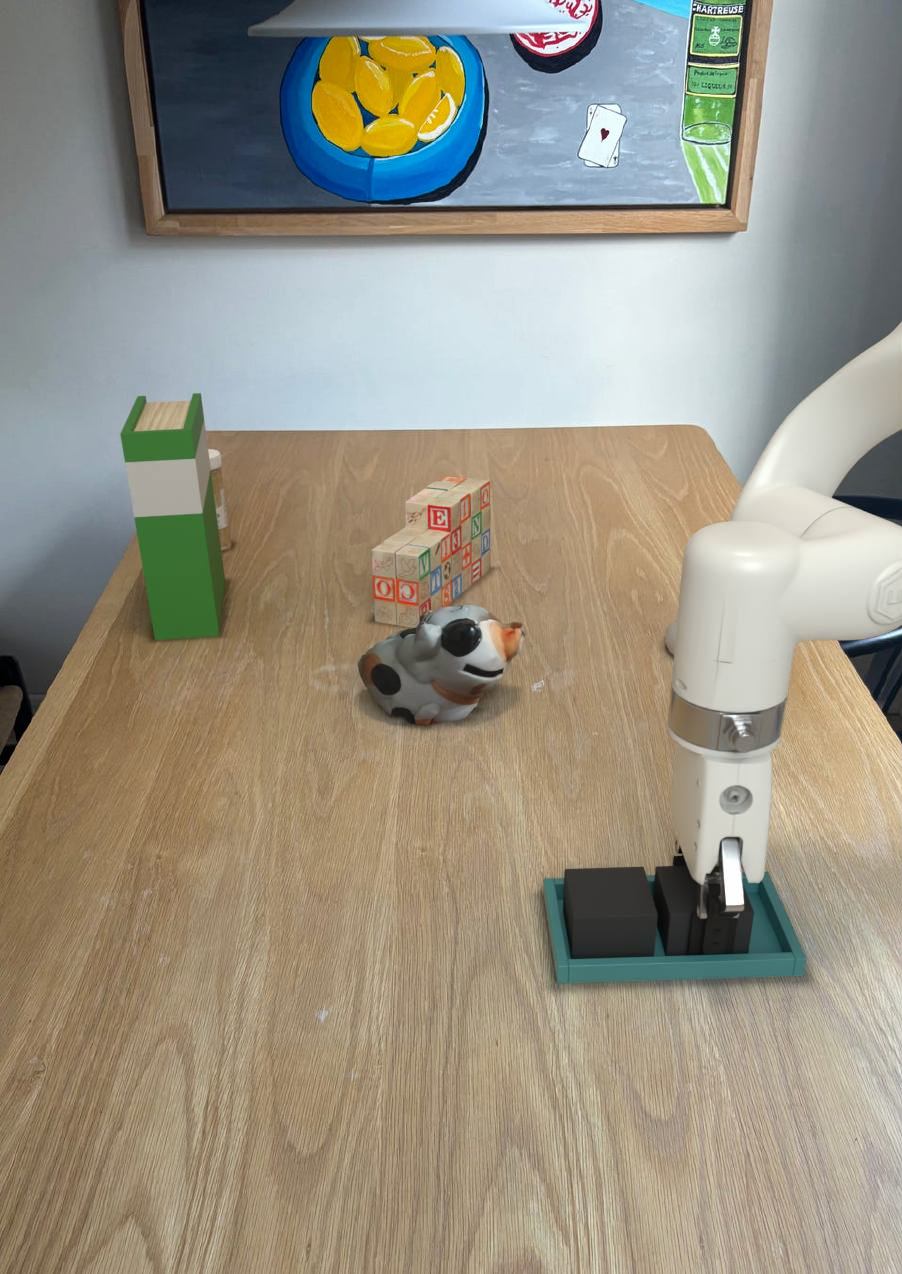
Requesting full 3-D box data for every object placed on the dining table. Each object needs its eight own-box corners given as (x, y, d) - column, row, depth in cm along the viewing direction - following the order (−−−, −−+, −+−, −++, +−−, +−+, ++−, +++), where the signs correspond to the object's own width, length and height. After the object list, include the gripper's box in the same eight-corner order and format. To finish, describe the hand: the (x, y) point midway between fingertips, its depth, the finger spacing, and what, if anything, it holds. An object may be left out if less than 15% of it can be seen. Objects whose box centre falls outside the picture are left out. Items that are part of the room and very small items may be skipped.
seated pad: (640, 908, 89) (643, 866, 87) (653, 958, 84) (658, 914, 81) (562, 910, 89) (564, 868, 87) (571, 961, 84) (573, 917, 81)
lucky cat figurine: (453, 661, 128) (511, 565, 119) (499, 741, 122) (563, 646, 113) (337, 657, 119) (390, 553, 110) (380, 743, 113) (440, 640, 105)
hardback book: (167, 587, 149) (137, 396, 137) (225, 583, 150) (200, 393, 137) (155, 642, 134) (120, 434, 122) (219, 638, 135) (191, 430, 122)
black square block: (729, 905, 89) (734, 863, 87) (748, 955, 84) (754, 911, 82) (651, 908, 89) (655, 866, 87) (666, 958, 84) (670, 915, 81)
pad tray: (764, 892, 91) (768, 871, 90) (802, 981, 82) (806, 958, 81) (542, 899, 91) (543, 878, 90) (556, 989, 82) (557, 966, 81)
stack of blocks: (420, 632, 136) (416, 530, 129) (373, 624, 138) (367, 524, 131) (491, 571, 152) (491, 478, 145) (448, 565, 154) (446, 473, 148)
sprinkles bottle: (197, 555, 159) (183, 457, 152) (201, 544, 163) (187, 448, 156) (230, 553, 160) (218, 456, 152) (233, 542, 163) (221, 447, 156)
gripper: (820, 777, 69) (780, 1003, 79) (750, 656, 84) (723, 859, 93) (696, 780, 69) (670, 1006, 79) (647, 658, 84) (631, 862, 93)
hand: (699, 924), depth 86 cm, fingers closed on black square block, 6 cm apart
